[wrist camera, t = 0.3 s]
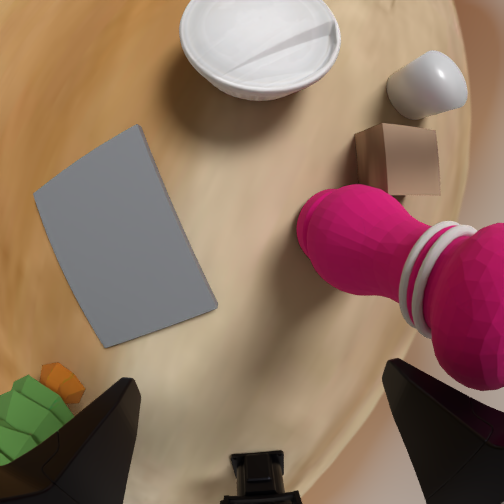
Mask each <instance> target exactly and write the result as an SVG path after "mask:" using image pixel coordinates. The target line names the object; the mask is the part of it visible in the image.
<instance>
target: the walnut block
mask: <svg viewBox="0 0 504 504" xmlns="http://www.w3.org/2000/svg"><path fill="white" fill-rule="evenodd" d="M355 143H356V154H357V166H358V182H359V184H362V185H366V186H371V187H374V188H378V189H381V190H383V191H384V192H386V193H388V194H389V195H439V196H440V171H439V157H438V147H437V138H436V130H430V129H424V128H418V127H411V126H404V125H396V124H388V123H381V124H378V125H376V126H373V127H371V128H369V129H366V130H364V131H361V132H359V133H357V134H355Z"/></svg>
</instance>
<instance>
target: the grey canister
mask: <svg viewBox="0 0 504 504" xmlns="http://www.w3.org/2000/svg"><path fill="white" fill-rule="evenodd" d="M387 94H388V97H389V99H390V101H391V103H392V105H393V106H394V108H395V109H396V110H397V111H398V112H399V113H400V114H401V115H403V116H404V117H406V118H408V119H411V120H419V119H422V118H425V117H429V116H432V115H435V114H439V113H442V112H446V111H449V110H453V109H456V108H460V107H462V106H463V105H464V104H465V103H466V100H467V86H466V82H465V79H464V77H463V75H462V73H461V71H460V70H459V68H458V67H457V65H456V64H455V63H454V62H453V61H452V60H451V59H450V58H449V57H448V56H446V55H445V54H443V53H441V52H439V51H434V50H433V51H428V52H426V53H425V54H423V55H422V56H420V57H418V58H417V59H415V60H413V61H412V62H410V63H409V64H407V65H406V66H404V67H402V68H401V69H399V70H398V71H396V72H395V73H393V74H392V75H391V76H390V77H389V78H388V81H387Z"/></svg>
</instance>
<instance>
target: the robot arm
mask: <svg viewBox="0 0 504 504" xmlns="http://www.w3.org/2000/svg"><path fill="white" fill-rule="evenodd" d="M382 382H383V386H384V389H385V392H386V395H387V399H388V402H389V405H390V409H391V412H392V415H393V417H394V420H395V422H396V425H397V427H398V429H399V432H400V434H401V437H402V439H403V442H404V444H405V446H406V449H407V451H408V454H409V457H410V459H411V462H412V464H413V467H414V470H415V472H416V475H417V477H418V480H419V483H420V486H421V489H422V492H423V494H424V497H425V499H426V504H504V412H501V411H498V410H496V409H494V408H491V407H489V406H487V405H485V404H483V403H481V402H479V401H477V400H475V399H473V398H471V397H470V398H469V396H467V395H465V394H463V393H462V392H460V391H458V390H456V389H454V388H452V387H450V386H448V385H446V384H445V383H443V382H441V381H439V380H437V379H436V378H434V377H432V376H430V375H428V374H426V373H424V372H423V371H421V370H419V369H417V368H415V367H414V366H412V365H410V364H408V363H406V362H405V361H403V360H401V359H399V358H395V359H391V360H388V361H387V363H386V366H385V369H384V372H383V375H382ZM140 403H141V395H140V392H139V389H138V387H137V384H136V382H135V380H134V379H133V378H126V377H123V378H121V379H120V380H118V381H117V382H116V383H115V384H114V385H112V386H111V387H110V388H109V389H108V390H106V391H105V392H104V393H103V394H102V395H100V396H99V397H98V398H97V399H95V400H94V401H93V402H92V403H91V404H89V405H88V406H87V407H86V408H84V409H83V410H82V411H81V412H80V413H78V414H77V415H76V416H75V417H73V418H72V419H71V420H70V421H68V422H67V423H66V424H65V425H64V426H62V427H61V428H60V429H59V430H58V431H56V432H55V433H54V434H52V435H51V436H50V437H48V438H47V439H46V440H44V441H43V442H42V443H40V444H39V445H37V446H36V447H34V448H33V449H31V450H30V451H28V452H27V453H25V454H23V455H22V456H20V457H18V458H17V459H15V460H13V461H12V462H10V463H8V464H6V465H2V466H0V504H123V500H124V494H125V489H126V483H127V478H128V473H129V468H130V464H131V459H132V454H133V450H134V445H135V441H136V436H137V429H138V420H139V411H140ZM231 461H232V465H233V469H234V473H235V476H236V479H237V496H224V500H222V501H220V504H302V502H301V498H300V495H299V491H298V490H297V491H294V492H287V493H285V490H284V484H283V477H282V476H283V475H284V454H283V451H272V452H262V453H250V454H233V455H231Z"/></svg>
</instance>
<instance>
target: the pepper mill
mask: <svg viewBox="0 0 504 504" xmlns="http://www.w3.org/2000/svg"><path fill="white" fill-rule="evenodd" d="M297 238H298V242H299V245H300V247H301V249H302V250H303V252H304V253H305V254H306V256H307V257H308V258H310V260H311V263H312V265H313V267H314V269H315V270H316V272H317V273H318V274H319V275H320V277H321V278H322V279H324V280H325V281H326V282H327V283H329V284H330V285H332V286H333V287H335V288H337V289H339V290H341V291H344V292H347V293H350V294H354V295H364V296H366V295H377V296H384V297H387V298H391V299H392V300H394V301H396V302H398V303H399V305H400V309H401V313H402V315H403V317H404V319H405V320H406V322H407V323H408V324H409V325H410V326H412V327H414V328H416V329H417V330H418V331H419V333H420V334H422V335H423V336H424V337H426V338H429V339H432V343H433V347H434V352H435V356H436V358H437V360H438V362H439V364H440V366H441V367H442V368H443V369H444V370H445V371H446V373H447V374H448V375H450V376H451V377H452V378H454V379H455V380H456V381H457V382H459V383H461V384H463V385H464V386H466V387H468V388H472V389H476V390H480V391H486V390H496V389H499V388H501V387H504V223H496V224H493V225H490V226H487V227H484V228H482V229H480V230H479V231H477V230H476V229H475V228H473V227H471V226H468V225H460V224H459V223H456V222H453V221H443V222H439V223H437V224H435V225H433V226H429V225H426V224H424V223H421V222H419V221H418V220H416V219H415V218H413V217H412V216H411V215H410V214H409V213H408V212H407V211H406V210H405V209H404V207H403V206H402V205H401V204H400V203H399V202H398V201H397V200H396V199H395V198H394V197H392V196H391V195H389V194H388V193H386V192H384V191H383V190H381V189H378V188H374V187H371V186H366V185H362V184H353V185H348V186H344V187H341V188H339V189H327V190H323V191H320V192H319V193H317V194H315V195H314V196H312V197H311V198H310V199H309V200H308V201H307V202H306V203H305V205H304V206H303V208H302V210H301V212H300V214H299V217H298V221H297Z"/></svg>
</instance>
